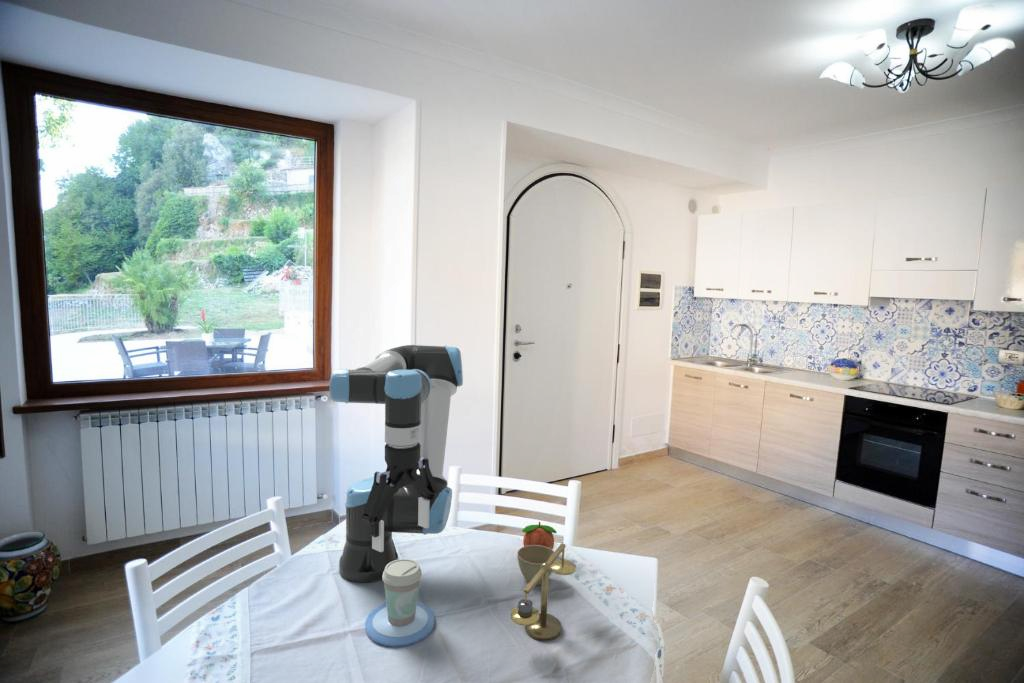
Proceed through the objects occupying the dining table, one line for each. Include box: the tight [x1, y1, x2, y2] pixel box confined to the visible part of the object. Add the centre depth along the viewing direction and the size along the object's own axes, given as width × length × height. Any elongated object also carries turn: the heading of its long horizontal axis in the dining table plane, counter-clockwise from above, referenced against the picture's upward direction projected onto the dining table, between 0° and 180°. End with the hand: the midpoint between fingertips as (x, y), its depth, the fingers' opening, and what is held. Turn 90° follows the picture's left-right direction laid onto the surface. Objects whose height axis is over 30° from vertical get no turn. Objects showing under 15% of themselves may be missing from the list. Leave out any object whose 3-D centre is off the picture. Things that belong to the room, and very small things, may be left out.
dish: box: [364, 601, 435, 648], centre depth 123 cm, size 15×15×1 cm
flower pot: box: [516, 545, 555, 586], centre depth 143 cm, size 10×10×7 cm
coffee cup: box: [381, 558, 423, 626], centre depth 123 cm, size 9×9×12 cm
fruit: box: [521, 521, 557, 551], centre depth 155 cm, size 9×10×10 cm
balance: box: [510, 542, 577, 642], centre depth 123 cm, size 8×21×17 cm, turn 145°
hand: (401, 537), depth 121 cm, fingers open, 13 cm apart
